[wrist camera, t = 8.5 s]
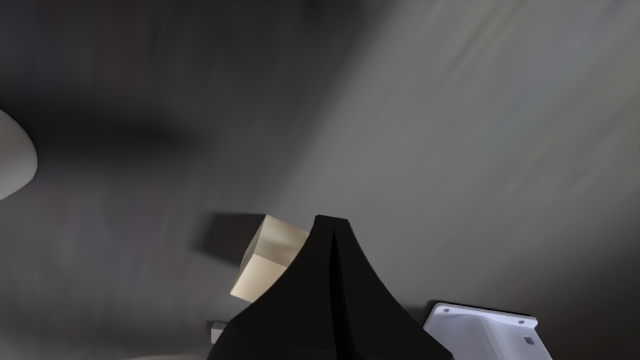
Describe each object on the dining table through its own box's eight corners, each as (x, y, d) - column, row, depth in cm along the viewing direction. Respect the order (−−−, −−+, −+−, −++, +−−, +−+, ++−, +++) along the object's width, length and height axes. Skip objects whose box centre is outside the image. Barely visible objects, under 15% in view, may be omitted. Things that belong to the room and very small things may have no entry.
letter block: (317, 236, 25) (313, 279, 22) (292, 272, 28) (284, 317, 24) (266, 213, 25) (253, 253, 21) (244, 252, 27) (229, 295, 23)
